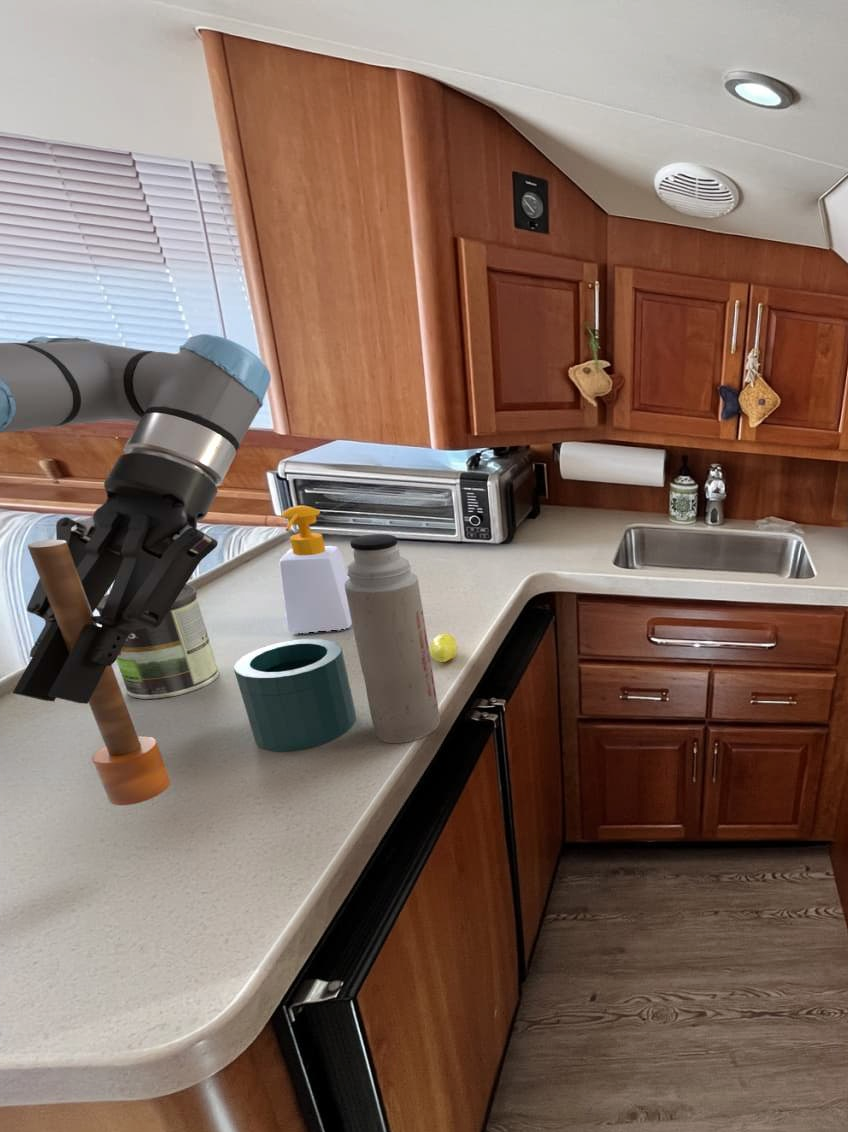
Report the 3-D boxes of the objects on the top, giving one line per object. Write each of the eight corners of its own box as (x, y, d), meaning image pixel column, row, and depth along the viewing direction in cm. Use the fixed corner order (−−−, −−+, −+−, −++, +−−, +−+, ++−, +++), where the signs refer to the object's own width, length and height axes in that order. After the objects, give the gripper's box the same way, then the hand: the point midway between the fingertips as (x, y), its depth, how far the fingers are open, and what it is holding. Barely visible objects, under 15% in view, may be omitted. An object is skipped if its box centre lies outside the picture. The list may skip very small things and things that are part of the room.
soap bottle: (279, 648, 107) (246, 521, 99) (300, 616, 119) (272, 500, 110) (347, 642, 111) (321, 519, 103) (360, 611, 123) (338, 499, 114)
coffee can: (153, 706, 89) (120, 615, 84) (110, 688, 93) (77, 599, 87) (236, 675, 98) (212, 591, 93) (195, 659, 102) (169, 578, 96)
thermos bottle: (445, 709, 94) (417, 528, 84) (433, 740, 87) (401, 547, 77) (384, 714, 92) (348, 529, 82) (366, 746, 85) (324, 548, 75)
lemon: (460, 646, 113) (458, 626, 111) (456, 667, 106) (453, 646, 105) (433, 648, 111) (430, 628, 110) (428, 670, 104) (424, 649, 103)
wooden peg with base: (101, 810, 61) (-5, 553, 51) (117, 783, 64) (21, 537, 54) (164, 798, 63) (73, 548, 53) (176, 772, 66) (93, 534, 56)
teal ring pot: (247, 760, 81) (225, 684, 77) (262, 715, 89) (243, 646, 85) (353, 739, 86) (338, 668, 82) (358, 699, 95) (344, 633, 91)
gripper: (275, 497, 68) (177, 714, 59) (128, 485, 67) (7, 702, 58) (220, 455, 61) (99, 694, 52) (56, 442, 60) (-95, 680, 51)
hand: (51, 698), depth 55 cm, fingers closed on wooden peg with base, 2 cm apart
